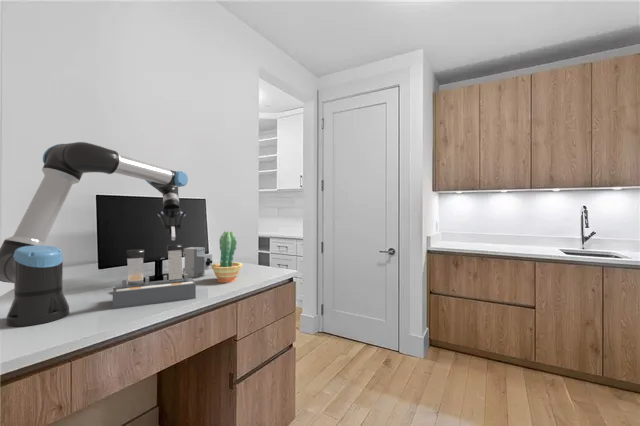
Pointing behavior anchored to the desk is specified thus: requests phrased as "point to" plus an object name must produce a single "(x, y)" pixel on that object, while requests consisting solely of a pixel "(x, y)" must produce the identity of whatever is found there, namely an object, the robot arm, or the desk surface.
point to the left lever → (135, 266)
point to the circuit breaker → (196, 261)
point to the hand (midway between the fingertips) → (173, 238)
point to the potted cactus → (227, 259)
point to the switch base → (153, 292)
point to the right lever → (175, 262)
